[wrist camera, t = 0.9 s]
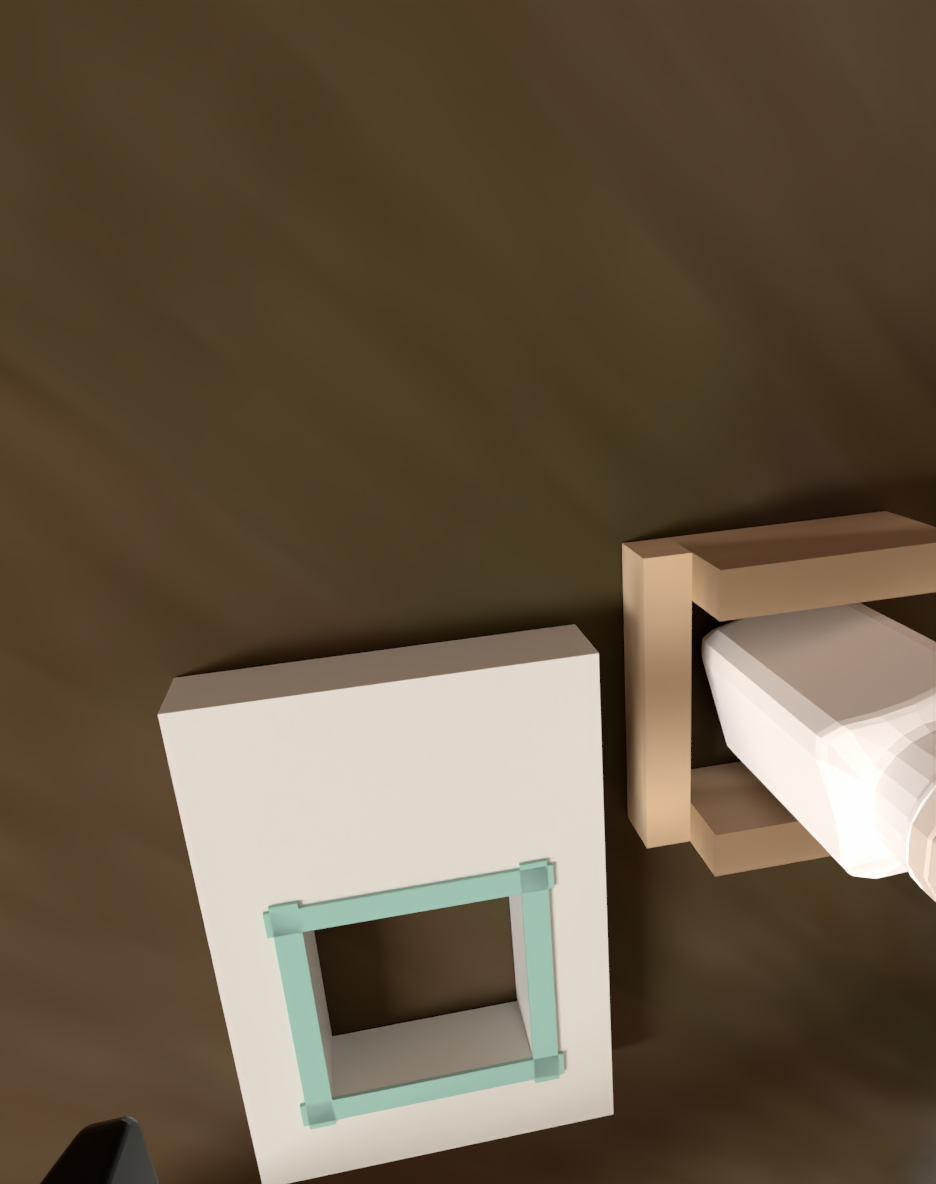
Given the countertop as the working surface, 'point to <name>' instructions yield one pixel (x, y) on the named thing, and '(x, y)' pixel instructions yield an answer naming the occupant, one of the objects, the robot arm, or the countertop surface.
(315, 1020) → the port plate
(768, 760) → the salt shaker
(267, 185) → the countertop surface
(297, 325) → the countertop surface
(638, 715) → the cradle
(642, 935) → the countertop surface
